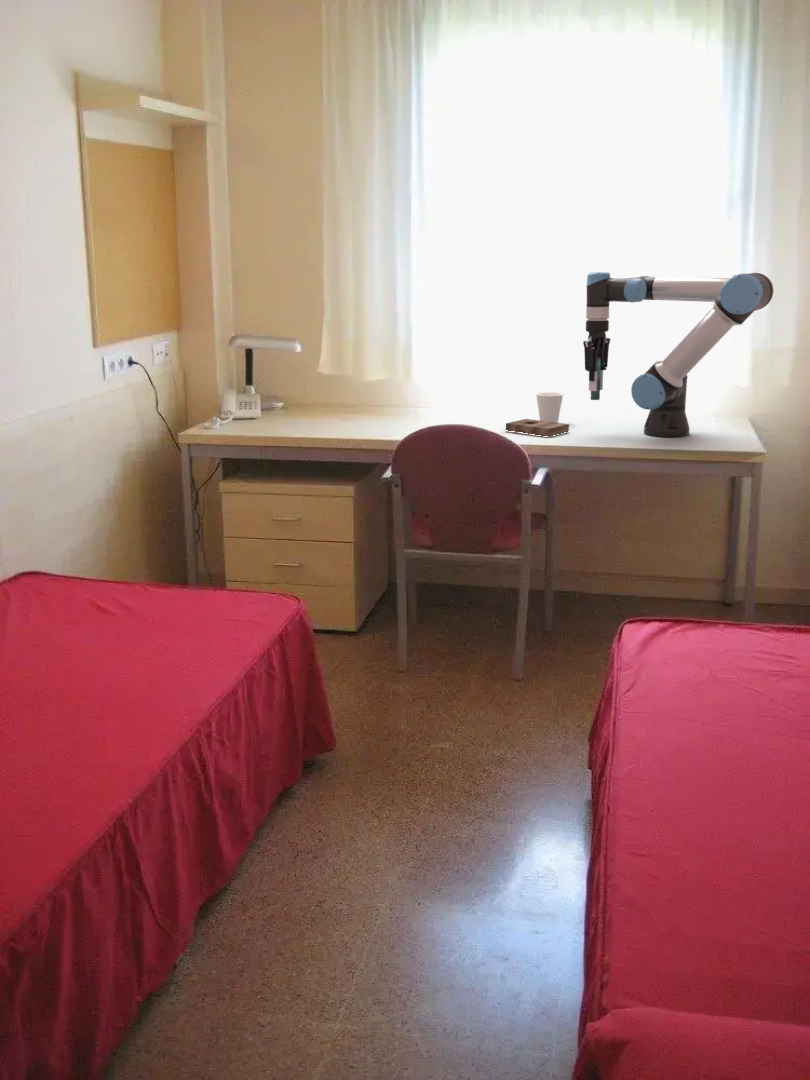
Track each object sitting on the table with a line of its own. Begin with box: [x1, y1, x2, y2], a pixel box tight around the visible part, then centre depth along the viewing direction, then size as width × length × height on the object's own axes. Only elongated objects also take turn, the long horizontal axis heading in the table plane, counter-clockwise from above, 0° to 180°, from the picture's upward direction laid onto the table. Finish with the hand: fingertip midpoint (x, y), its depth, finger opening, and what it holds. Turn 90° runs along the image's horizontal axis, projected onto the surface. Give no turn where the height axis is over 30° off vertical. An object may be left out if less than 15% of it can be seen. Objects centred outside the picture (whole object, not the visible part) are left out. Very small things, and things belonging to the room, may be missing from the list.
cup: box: [535, 391, 564, 423], centre depth 411 cm, size 10×10×11 cm
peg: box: [590, 357, 601, 401], centre depth 388 cm, size 3×3×14 cm
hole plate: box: [505, 418, 570, 438], centre depth 397 cm, size 18×12×3 cm, turn 49°
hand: (595, 390), depth 389 cm, fingers closed on peg, 3 cm apart
